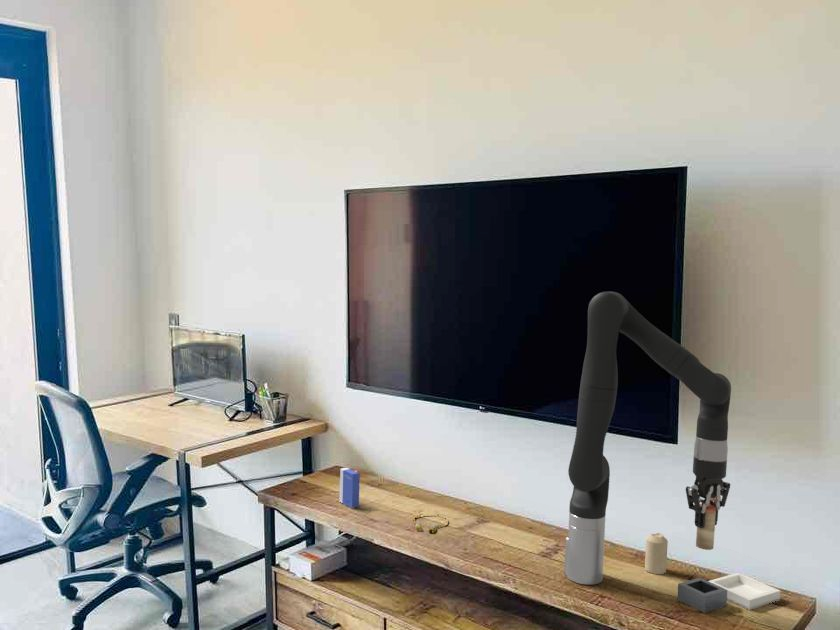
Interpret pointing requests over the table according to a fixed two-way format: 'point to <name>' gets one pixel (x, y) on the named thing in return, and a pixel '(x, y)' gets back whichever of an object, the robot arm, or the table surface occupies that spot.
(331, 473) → the table surface
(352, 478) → the walkman
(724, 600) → the socket block
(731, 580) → the tray
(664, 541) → the candle
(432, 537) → the table surface
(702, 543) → the pin
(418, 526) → the beaded necklace
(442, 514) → the table surface
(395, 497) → the table surface
